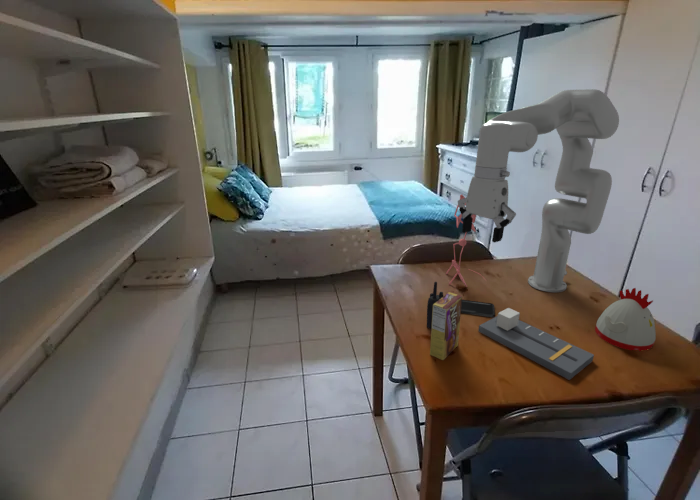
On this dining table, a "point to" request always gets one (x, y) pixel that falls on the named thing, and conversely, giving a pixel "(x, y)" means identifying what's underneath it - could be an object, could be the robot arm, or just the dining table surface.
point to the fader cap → (508, 319)
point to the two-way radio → (431, 301)
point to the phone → (477, 308)
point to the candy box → (445, 325)
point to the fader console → (540, 347)
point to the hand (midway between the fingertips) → (481, 236)
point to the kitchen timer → (628, 322)
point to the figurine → (462, 243)
